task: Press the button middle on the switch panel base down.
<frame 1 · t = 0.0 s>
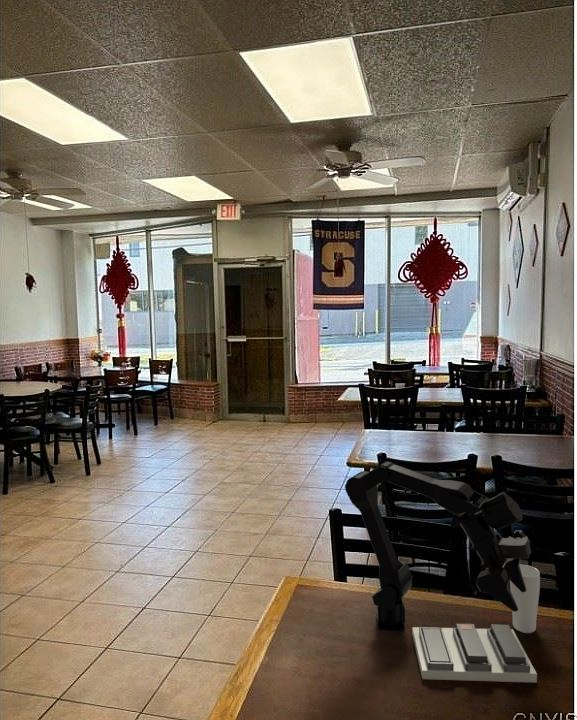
hand: (520, 600, 121), 15 cm above the table, tool tilted 35°, fingers open, 9 cm apart
switch panel base: (470, 657, 126), on the table
button left: (435, 647, 125), point 3 cm above the table, slide at 1.4 cm
button right: (507, 643, 123), point 4 cm above the table, slide at 0.0 cm
button middle: (471, 642, 124), point 4 cm above the table, slide at 0.0 cm
drinking glass: (524, 628, 136), on the table
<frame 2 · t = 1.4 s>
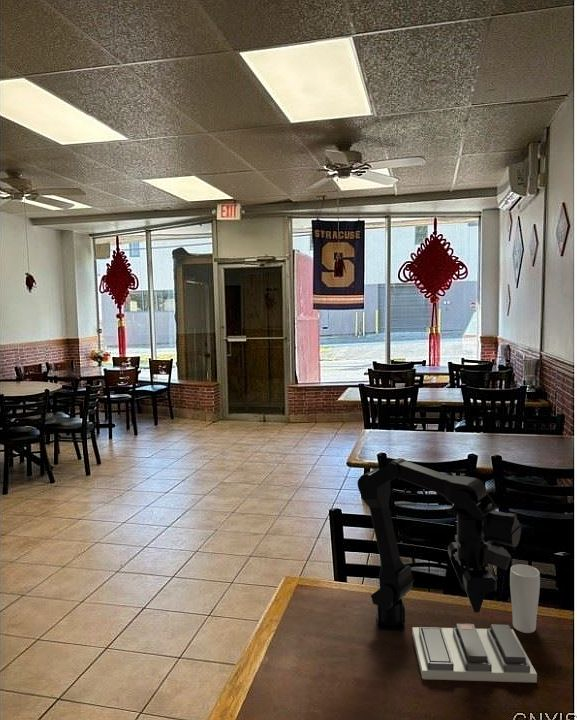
hand: (470, 601, 125), 13 cm above the table, tool pointing down, fingers open, 9 cm apart
nothing on the table moved.
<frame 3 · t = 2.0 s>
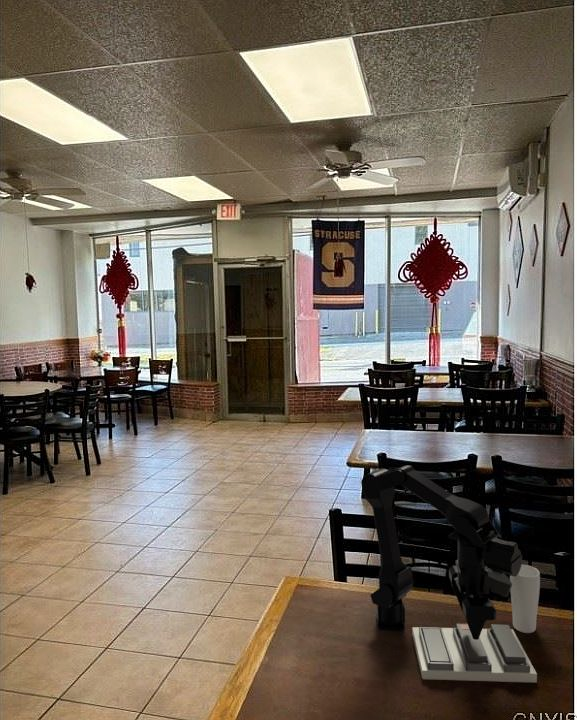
hand: (470, 626, 124), 8 cm above the table, tool pointing down, fingers open, 9 cm apart
nothing on the table moved.
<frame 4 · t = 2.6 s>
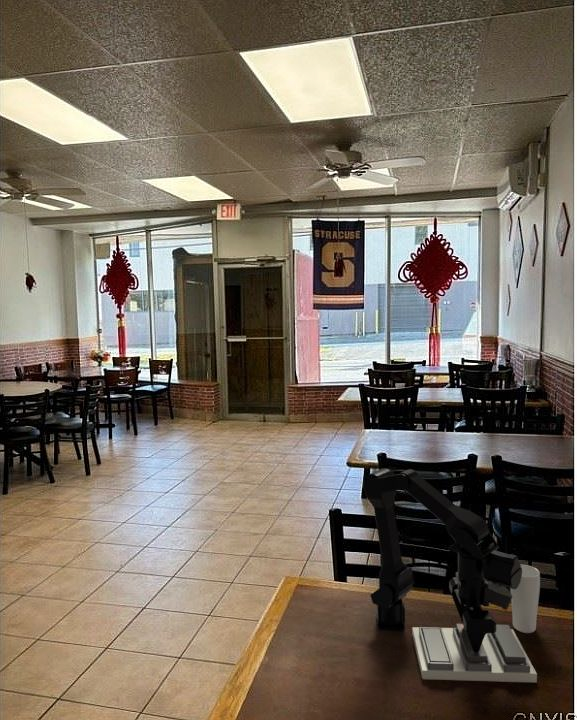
hand: (471, 638, 124), 5 cm above the table, tool pointing down, fingers open, 9 cm apart
button middle: (471, 642, 124), point 4 cm above the table, slide at 0.0 cm, touching gripper
everything else where it was.
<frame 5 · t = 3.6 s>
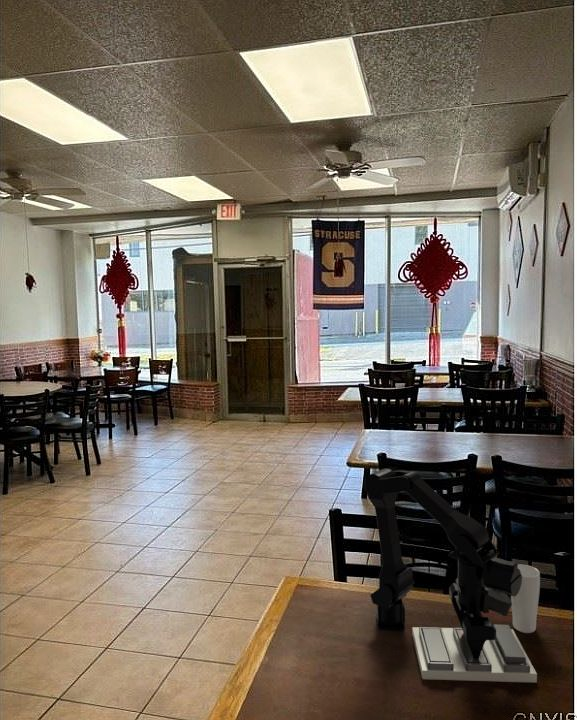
hand: (470, 645, 124), 4 cm above the table, tool pointing down, fingers open, 9 cm apart
button middle: (471, 648, 124), point 3 cm above the table, slide at 1.5 cm, touching gripper, switch panel base
everything else where it was.
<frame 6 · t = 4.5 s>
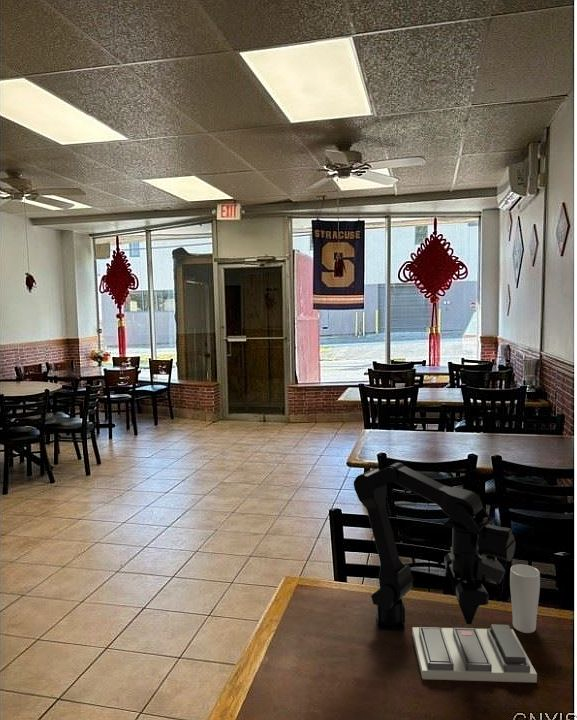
hand: (464, 612, 126), 10 cm above the table, tool pointing down, fingers open, 9 cm apart
button middle: (471, 648, 124), point 3 cm above the table, slide at 1.5 cm, touching switch panel base
everything else where it was.
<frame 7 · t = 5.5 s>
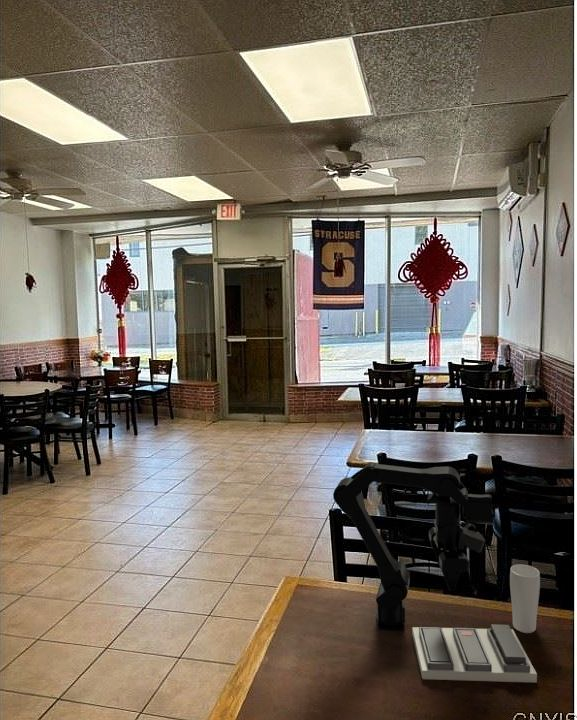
hand: (447, 581, 134), 13 cm above the table, tool pointing down, fingers open, 9 cm apart
nothing on the table moved.
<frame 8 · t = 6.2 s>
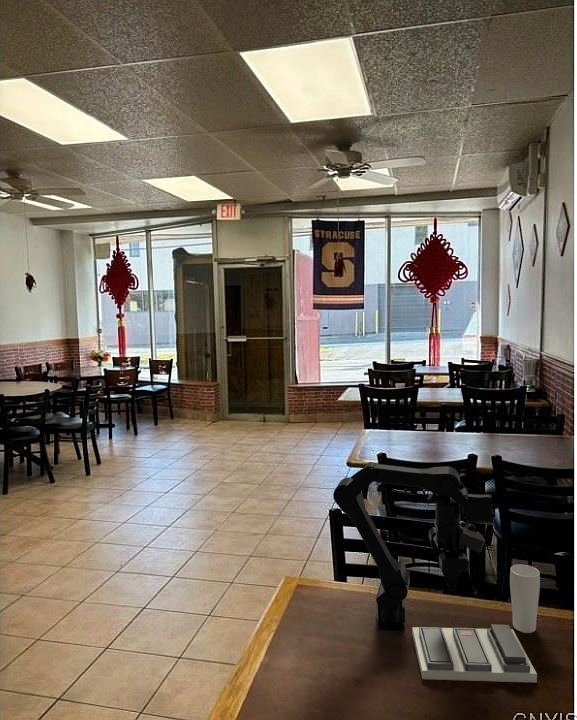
hand: (447, 581, 134), 13 cm above the table, tool pointing down, fingers open, 9 cm apart
nothing on the table moved.
at the end: button middle slide at 1.5 cm; button left slide at 1.4 cm; button right slide at 0.0 cm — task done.
